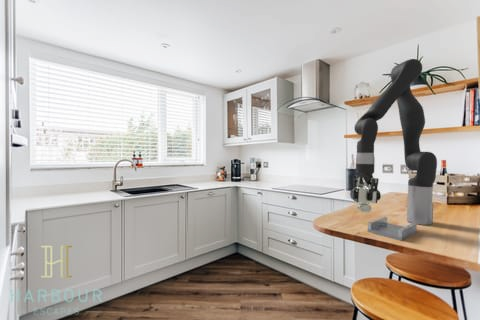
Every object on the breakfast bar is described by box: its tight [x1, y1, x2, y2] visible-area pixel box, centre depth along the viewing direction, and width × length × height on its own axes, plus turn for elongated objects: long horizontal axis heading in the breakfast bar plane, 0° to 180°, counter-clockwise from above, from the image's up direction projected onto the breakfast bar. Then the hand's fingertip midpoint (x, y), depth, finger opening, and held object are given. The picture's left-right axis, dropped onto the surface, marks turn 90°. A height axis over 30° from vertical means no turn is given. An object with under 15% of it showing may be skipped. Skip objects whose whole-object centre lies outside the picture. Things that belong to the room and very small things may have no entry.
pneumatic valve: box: [349, 185, 382, 213], centre depth 109 cm, size 6×12×12 cm, turn 86°
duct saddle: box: [367, 216, 418, 241], centre depth 96 cm, size 16×12×4 cm
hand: (364, 199), depth 109 cm, fingers closed on pneumatic valve, 5 cm apart
